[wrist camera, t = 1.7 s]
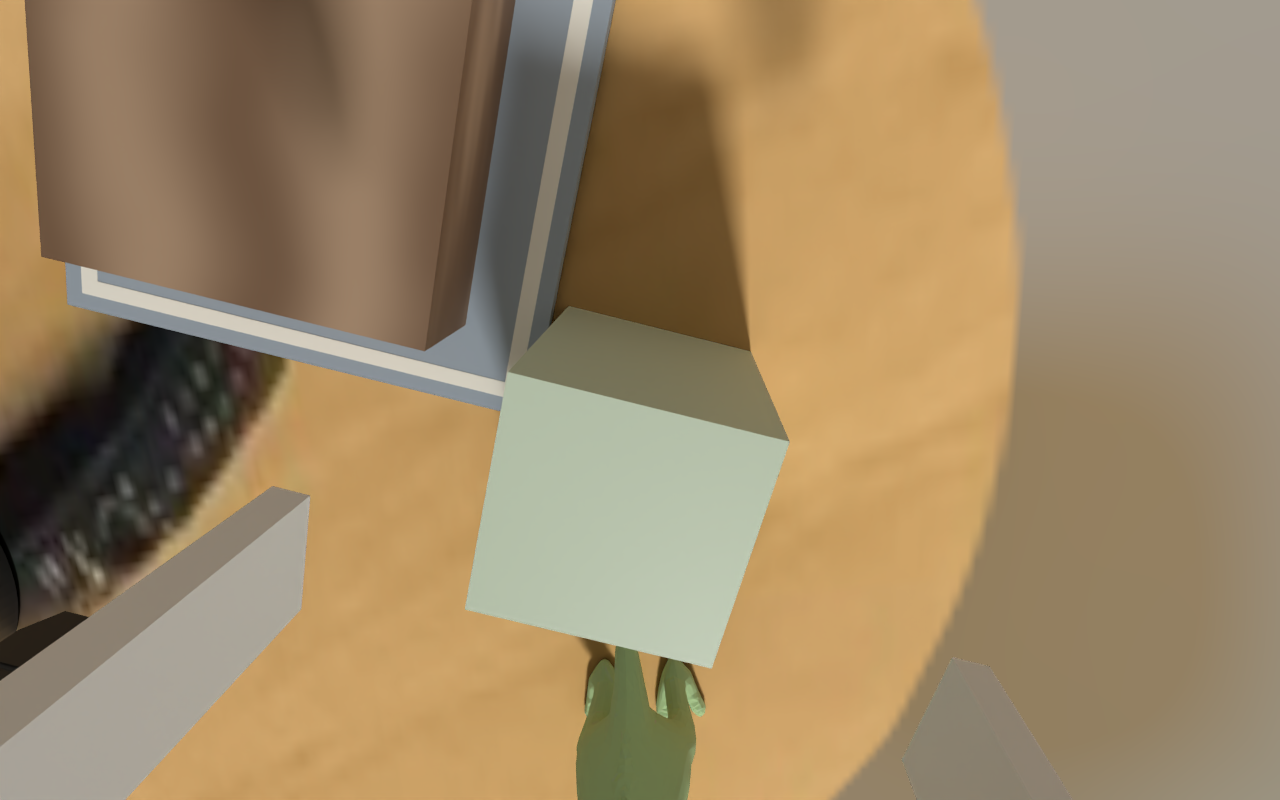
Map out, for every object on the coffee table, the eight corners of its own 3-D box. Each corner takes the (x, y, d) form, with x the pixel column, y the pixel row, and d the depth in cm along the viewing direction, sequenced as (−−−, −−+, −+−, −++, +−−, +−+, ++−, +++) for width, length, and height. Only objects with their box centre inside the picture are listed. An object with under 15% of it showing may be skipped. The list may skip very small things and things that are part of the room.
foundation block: (144, 245, 23) (41, 256, 20) (139, -147, 20) (10, -226, 16) (465, 324, 24) (424, 351, 20) (522, -46, 20) (485, -102, 16)
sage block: (534, 471, 26) (464, 609, 18) (568, 305, 24) (507, 372, 15) (701, 512, 26) (711, 668, 18) (750, 350, 24) (789, 441, 16)
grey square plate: (81, 301, 25) (66, 304, 24) (54, -283, 19) (34, -297, 19) (533, 413, 25) (529, 418, 25) (640, -127, 19) (639, -137, 19)
